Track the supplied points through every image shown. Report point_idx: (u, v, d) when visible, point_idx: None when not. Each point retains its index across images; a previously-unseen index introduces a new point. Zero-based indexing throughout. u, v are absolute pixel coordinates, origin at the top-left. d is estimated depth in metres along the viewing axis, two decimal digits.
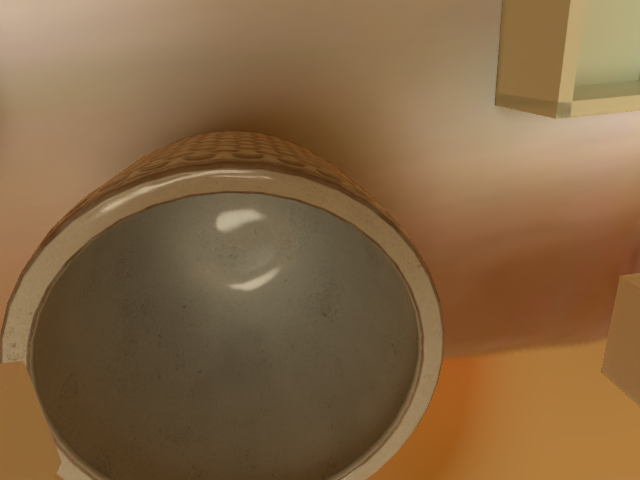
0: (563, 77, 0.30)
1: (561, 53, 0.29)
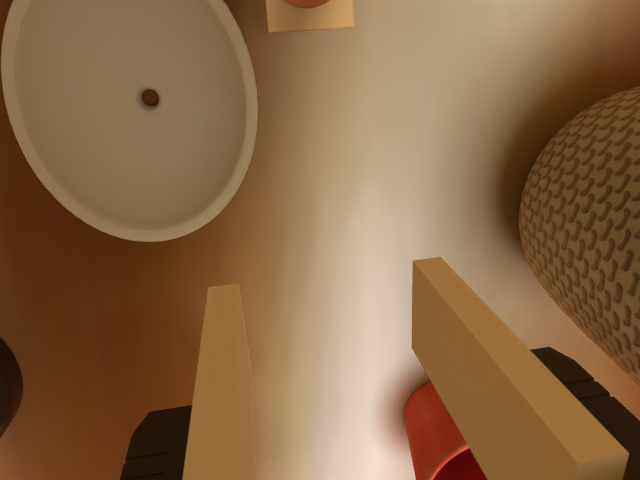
0: None
1: None
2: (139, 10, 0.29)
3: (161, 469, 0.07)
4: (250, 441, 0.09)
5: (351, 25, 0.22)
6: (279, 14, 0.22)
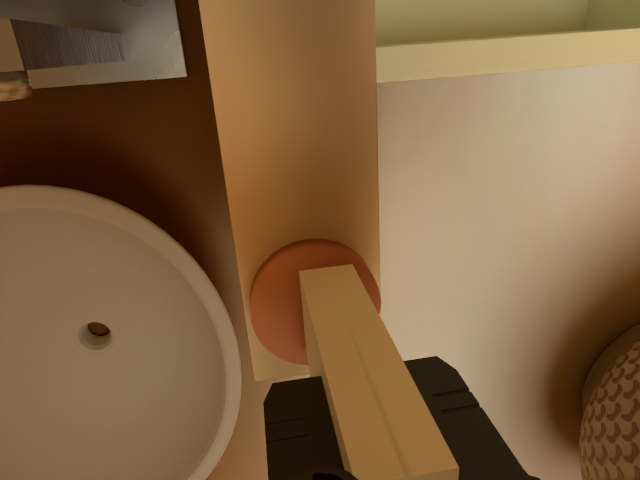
0: None
1: None
2: (75, 247, 0.20)
3: (302, 432, 0.08)
4: None
5: None
6: (270, 359, 0.14)
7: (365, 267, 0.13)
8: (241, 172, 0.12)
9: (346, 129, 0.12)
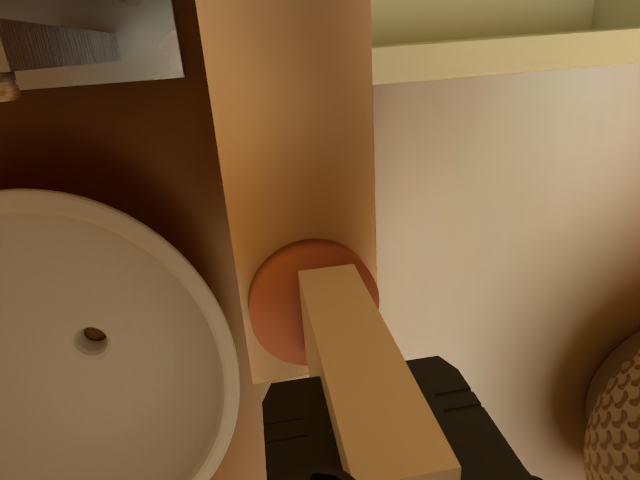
0: None
1: None
2: (69, 251, 0.20)
3: (301, 432, 0.08)
4: None
5: None
6: (269, 361, 0.14)
7: (364, 266, 0.13)
8: (239, 173, 0.12)
9: (343, 129, 0.12)
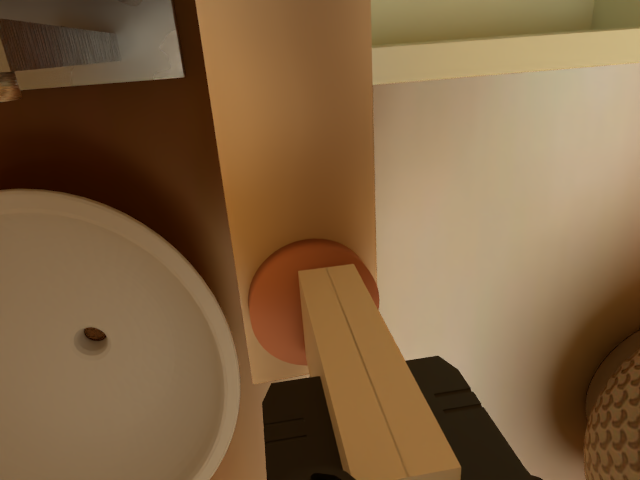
0: None
1: None
2: (69, 252, 0.20)
3: (301, 433, 0.08)
4: None
5: None
6: (269, 361, 0.14)
7: (364, 266, 0.13)
8: (239, 173, 0.12)
9: (343, 129, 0.12)
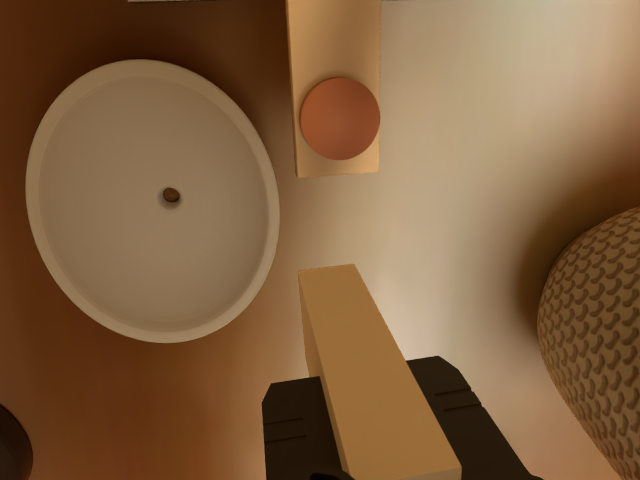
0: None
1: None
2: (164, 120, 0.28)
3: (300, 433, 0.08)
4: None
5: (376, 170, 0.23)
6: (309, 162, 0.22)
7: (371, 93, 0.21)
8: (299, 28, 0.20)
9: (362, 5, 0.20)
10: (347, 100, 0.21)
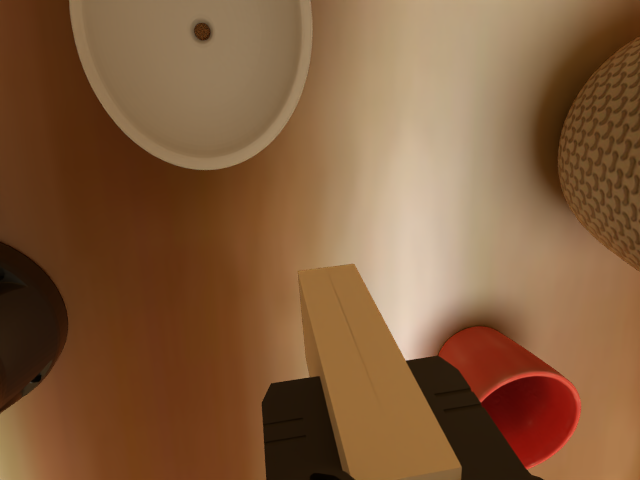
0: None
1: None
2: None
3: (300, 433, 0.08)
4: None
5: None
6: None
7: None
8: None
9: None
10: None
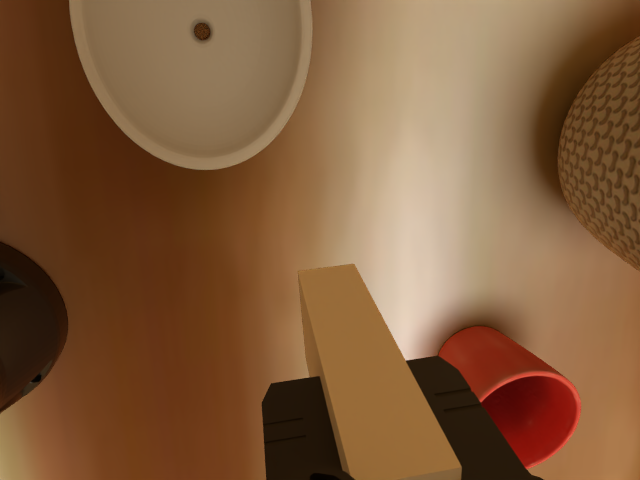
0: None
1: None
2: None
3: (300, 433, 0.08)
4: None
5: None
6: None
7: None
8: None
9: None
10: None
